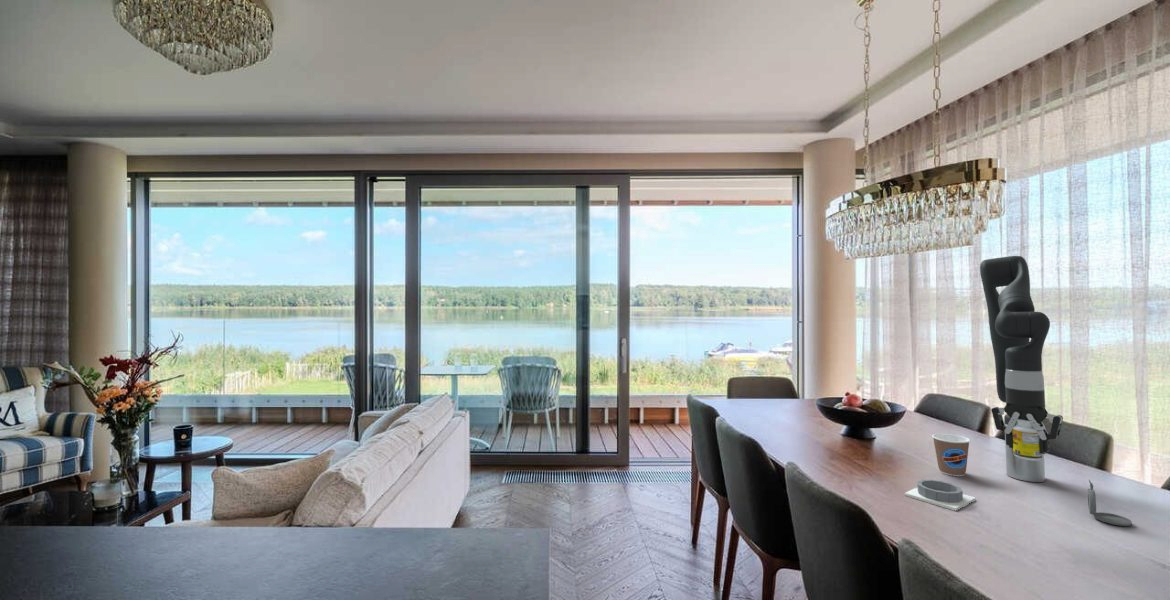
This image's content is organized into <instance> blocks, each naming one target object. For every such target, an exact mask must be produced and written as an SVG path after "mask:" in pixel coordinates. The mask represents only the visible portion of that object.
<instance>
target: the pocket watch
mask: <svg viewBox="0 0 1170 600" xmlns="http://www.w3.org/2000/svg"><path fill="white" fill-rule="evenodd" d="M1088 483H1089V488H1088V489H1087V501H1088V502H1087V503H1088V504H1087V505H1088V510H1089V514H1090V515H1092V516H1093V517H1094V518H1095V519H1097V520H1098V521H1100V522H1102V523H1106V524H1110V525H1114V526H1121V527H1128V526H1132V524H1133V522H1132V520H1131V519H1129V518H1127V517H1125V516H1121V515H1118V514H1114V513H1109V512H1101V511H1097V501H1096V492H1095V490H1094V485H1093V484H1094V483H1092V482H1091V480H1090V479H1088Z"/></svg>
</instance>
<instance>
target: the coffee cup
mask: <svg viewBox="0 0 1170 600" xmlns="http://www.w3.org/2000/svg"><path fill="white" fill-rule="evenodd" d="M931 437H932V439H933V444H934V449H935V454H936V455H935V456H936V461H937V466H938V470H939V472H940V473H942V474H945V475H947V476H952V475H953V476H954V477H963V476H965V475H966V473H967V468H968V467H967V465H968V457H969V447H970V442H971V439H970V438H968V437H966V436H962V435H957V434H951V433H949V434H948V433H934V434H932V436H931ZM953 476H952V477H953Z"/></svg>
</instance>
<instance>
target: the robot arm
mask: <svg viewBox="0 0 1170 600" xmlns="http://www.w3.org/2000/svg"><path fill="white" fill-rule="evenodd" d="M1029 270H1030V269H1029V265H1028V263H1027V261H1026V259H1025V257H1023V256H1020V255H1009V256H1004V257H1003V256H1002V257H1001V256H1000V257H996V258H988V259H983V260H982V261H981V263H980V264H979V275H980V279H981V283H982V288H983V292H984V297H985V301H986V307H987V314H988V325H989V335H990V339H991V346H992V351H993V356H994V365H995V381H996V392H997V396H998V399H999V400H1000V402H1002V403H1005V406H1004V407H999V406H995V407H992V408H991V414H992V418H993V421H994V425H995V428H996V429H995V430H998V431H1000V432H1003V433H1004V442H1005V446H1004V447H1005V467H1006V475H1007V476H1008V477H1011V478H1013V479H1016V480H1021V481H1024V482H1025V481H1026V482H1033V483H1042V482H1045V481H1046V474H1045V473H1046V471H1045V455H1046V454H1047V453H1049V451H1050V449H1051V447H1050V440H1055V439H1057V438H1059V437H1060V434H1061V429H1062V425H1063V419H1064V417H1063V416H1062V415H1061V414H1057V415H1056V414H1052V413H1049V412H1048V411H1047V409H1046V395H1045V394H1046V393H1045V378H1044V374H1043V363H1042V361H1043V360H1042V359H1043V357H1042V355H1043V348H1044V344H1045V341H1046V339H1047V336H1048V334H1049V330H1050V326H1051V321H1050V319H1049V317H1048V316H1047V315H1046V314H1045V313H1043V312H1041V311H1036V310H1035V305H1034V302H1033V299H1032V295H1031V280H1030V279H1031V278H1030V271H1029ZM1001 287H1002V288H1003V287H1004V288H1003V289H1002V290H1001V292H1000V293H999V291H998V290H997V288H1001ZM1005 413H1006V414H1005ZM1003 416H1004V417H1003ZM1018 419H1022V420H1028V421H1030V422H1031V424H1032V426H1033V428H1034V429H1035V431H1037V432H1038V435H1039V436H1040V438H1041V439H1040V453H1041V454H1042V459H1041V460H1038V461H1032V460H1025V459H1021V458H1018V457H1016V456H1015V455H1014V454H1013V435H1012V427H1014V426H1015V425H1017V424H1016V422H1017V420H1018ZM1045 419H1048V420H1049V421H1048V422H1049V423H1050V424H1051V427H1050V428H1051V429H1050V432H1048V430H1046V426H1045V424H1044V423H1043V421H1044V420H1045Z"/></svg>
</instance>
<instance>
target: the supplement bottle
mask: <svg viewBox="0 0 1170 600" xmlns="http://www.w3.org/2000/svg"><path fill="white" fill-rule="evenodd" d="M1016 424H1017V425H1015V426H1014V427H1012V435H1013V454H1014V455H1015V456H1016V457H1018V458H1021V459H1025V460H1032V461H1038V460H1041V459H1042V454H1041V453H1040V439H1041V438H1040V436H1039V435H1038V432H1037V431H1035V429H1034V428H1033V426H1032V424H1031V422H1030V421H1028V420H1022V419H1018V420H1017V422H1016Z"/></svg>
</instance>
